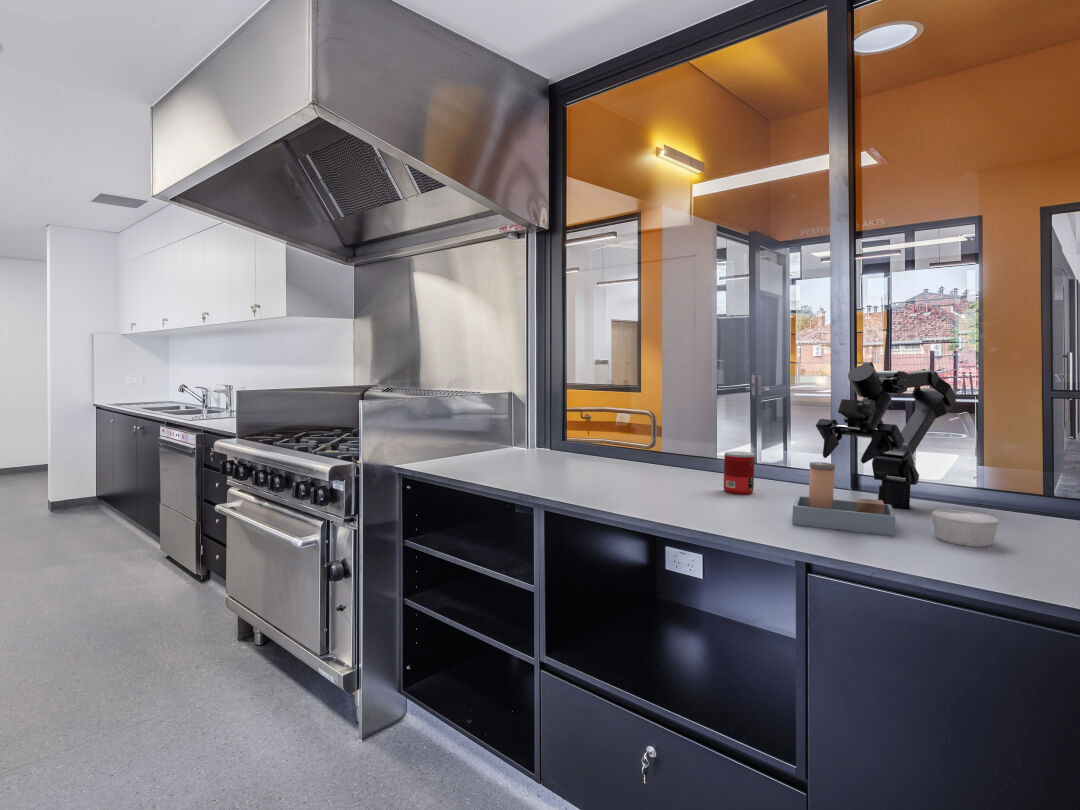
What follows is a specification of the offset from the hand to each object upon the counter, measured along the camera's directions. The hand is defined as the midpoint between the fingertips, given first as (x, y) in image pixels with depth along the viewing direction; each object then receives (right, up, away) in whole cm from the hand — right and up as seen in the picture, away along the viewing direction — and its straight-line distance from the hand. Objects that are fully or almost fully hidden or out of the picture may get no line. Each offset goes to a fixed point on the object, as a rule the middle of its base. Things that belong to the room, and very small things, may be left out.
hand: (842, 459), depth 138 cm
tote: (-3, -14, -5) cm, 15 cm away
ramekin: (+16, -15, -18) cm, 28 cm away
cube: (+2, -13, -7) cm, 15 cm away
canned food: (-15, -12, +29) cm, 35 cm away
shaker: (-7, -13, -3) cm, 15 cm away
